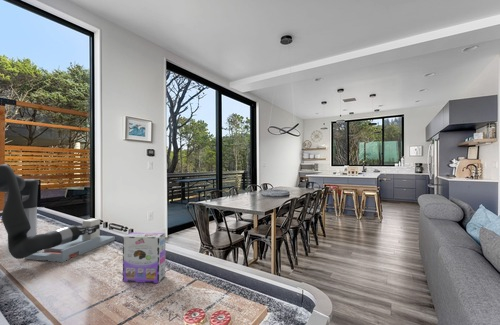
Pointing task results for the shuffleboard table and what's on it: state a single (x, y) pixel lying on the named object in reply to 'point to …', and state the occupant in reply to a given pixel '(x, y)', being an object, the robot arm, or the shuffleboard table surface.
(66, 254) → the trough
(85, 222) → the cream block
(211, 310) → the shuffleboard table surface
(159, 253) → the candy box
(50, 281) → the shuffleboard table surface
